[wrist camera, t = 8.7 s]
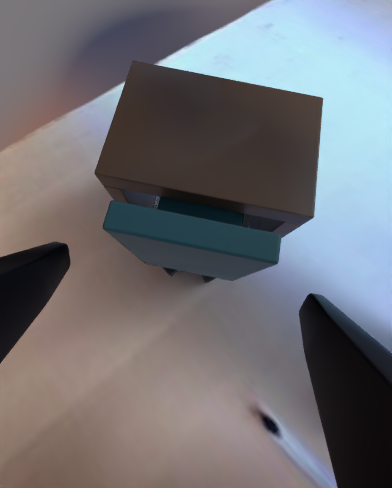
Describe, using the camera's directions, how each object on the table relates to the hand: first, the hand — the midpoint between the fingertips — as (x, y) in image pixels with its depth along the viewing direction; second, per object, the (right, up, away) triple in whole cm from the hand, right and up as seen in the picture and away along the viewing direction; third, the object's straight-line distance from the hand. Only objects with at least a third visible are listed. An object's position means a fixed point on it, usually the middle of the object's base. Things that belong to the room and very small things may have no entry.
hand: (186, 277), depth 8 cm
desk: (+1, +4, +9) cm, 10 cm away
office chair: (0, +1, +8) cm, 8 cm away
